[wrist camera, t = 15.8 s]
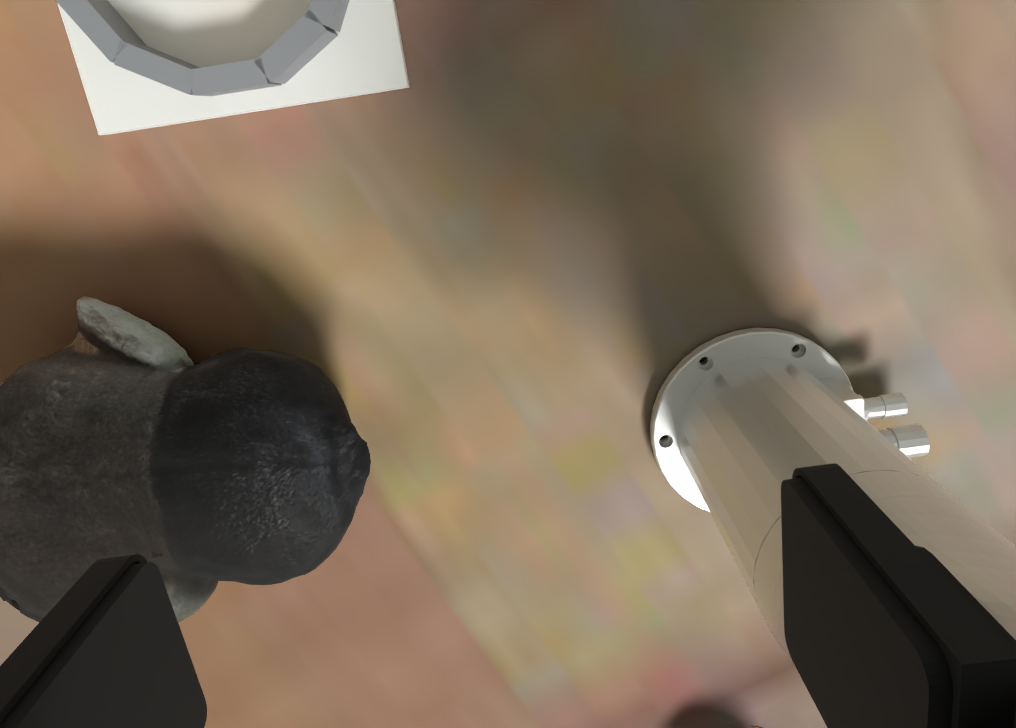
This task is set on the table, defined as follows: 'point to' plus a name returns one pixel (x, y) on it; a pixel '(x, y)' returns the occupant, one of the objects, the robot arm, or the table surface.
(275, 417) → the dark grey rounded piece
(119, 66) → the ring stand
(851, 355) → the table surface
